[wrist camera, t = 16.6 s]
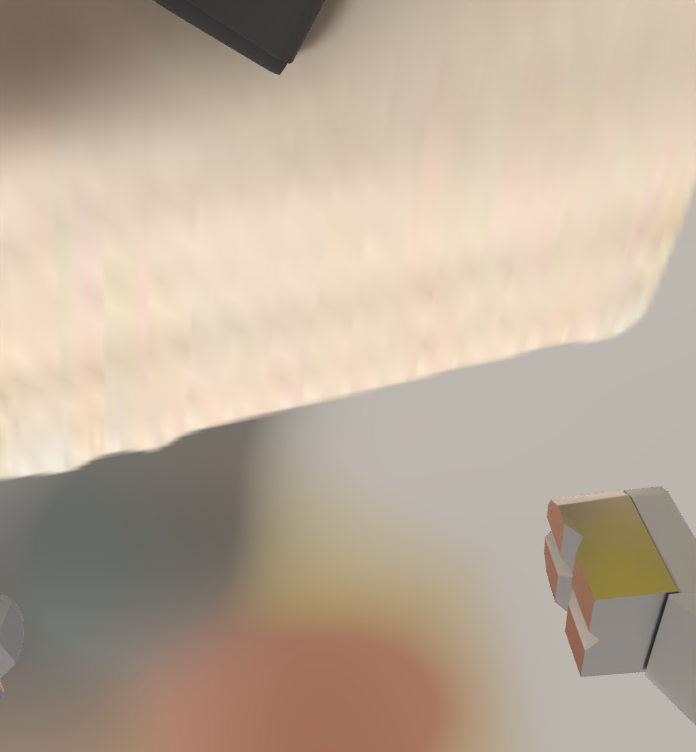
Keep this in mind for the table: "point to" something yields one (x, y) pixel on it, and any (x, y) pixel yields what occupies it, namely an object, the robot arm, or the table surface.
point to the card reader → (252, 25)
